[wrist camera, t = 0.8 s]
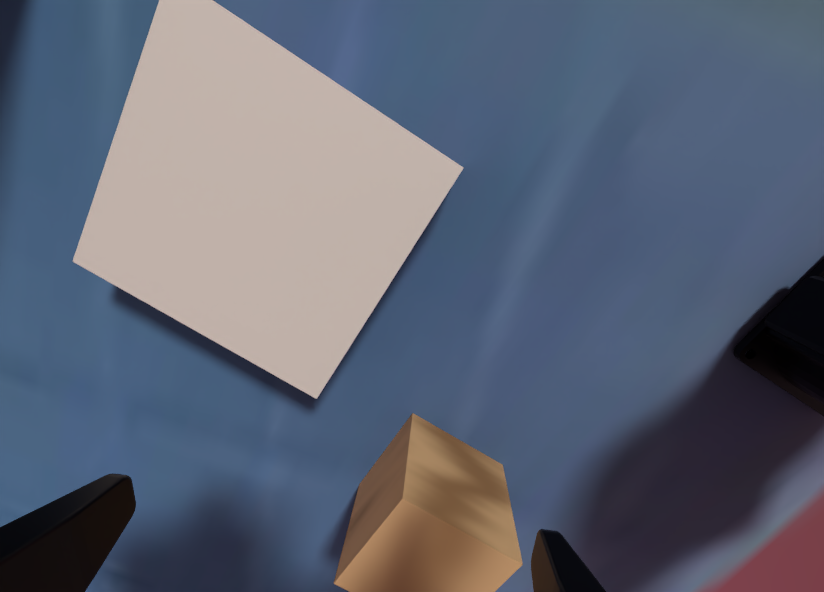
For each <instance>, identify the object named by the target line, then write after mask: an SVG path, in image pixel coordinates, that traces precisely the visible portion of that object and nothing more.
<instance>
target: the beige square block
mask: <svg viewBox="0 0 824 592" xmlns="http://www.w3.org/2000/svg"><path fill="white" fill-rule="evenodd" d="M462 170H463V167H462V166H460V165H459V164H457V163H456V162H454V161H453V160H451V159H450V158H448V157H447V156H445V155H444V154H442V153H441V152H439V151H438V150H436V149H435V148H433V147H432V146H430V145H429V144H427V143H426V142H424V141H423V140H421V139H420V138H418V137H417V136H415V135H414V134H412V133H411V132H409V131H408V130H406V129H405V128H403V127H402V126H400V125H399V124H397V123H396V122H394V121H393V120H391V119H390V118H388V117H387V116H385V115H384V114H382V113H381V112H379V111H378V110H376V109H375V108H373V107H372V106H370V105H369V104H367V103H366V102H364V101H363V100H361V99H360V98H358V97H357V96H355V95H354V94H352V93H351V92H349V91H348V90H346V89H345V88H343V87H342V86H340V85H339V84H337V83H336V82H334V81H333V80H331V79H330V78H328V77H327V76H325V75H324V74H322V73H321V72H319V71H318V70H316V69H315V68H313V67H312V66H310V65H309V64H307V63H306V62H304V61H303V60H301V59H300V58H298V57H297V56H295V55H294V54H292V53H291V52H289V51H288V50H286V49H285V48H283V47H282V46H280V45H279V44H277V43H276V42H274V41H273V40H271V39H270V38H268V37H267V36H265V35H264V34H262V33H261V32H259V31H258V30H256V29H255V28H253V27H252V26H250V25H249V24H247V23H246V22H244V21H243V20H241V19H240V18H238V17H237V16H235V15H234V14H232V13H231V12H229V11H228V10H226V9H225V8H223V7H222V6H220V5H219V4H217V3H216V2H214V1H213V0H159V3H158V6H157V9H156V12H155V15H154V18H153V21H152V24H151V27H150V30H149V33H148V36H147V39H146V42H145V45H144V48H143V51H142V54H141V57H140V60H139V63H138V66H137V69H136V72H135V75H134V78H133V81H132V84H131V87H130V90H129V93H128V96H127V99H126V102H125V105H124V108H123V111H122V115H121V118H120V121H119V124H118V127H117V130H116V133H115V136H114V139H113V142H112V145H111V148H110V151H109V154H108V157H107V160H106V163H105V166H104V169H103V172H102V175H101V178H100V181H99V184H98V187H97V190H96V193H95V196H94V199H93V202H92V205H91V208H90V211H89V214H88V217H87V220H86V223H85V226H84V229H83V232H82V235H81V238H80V241H79V244H78V247H77V250H76V253H75V256H74V259H73V262H74V263H76V264H78V265H80V266H81V267H83V268H85V269H87V270H89V271H90V272H92V273H94V274H96V275H97V276H99V277H101V278H103V279H105V280H106V281H108V282H110V283H112V284H113V285H115V286H117V287H119V288H120V289H122V290H124V291H126V292H128V293H129V294H131V295H133V296H135V297H136V298H138V299H140V300H142V301H144V302H145V303H147V304H149V305H151V306H152V307H154V308H156V309H158V310H159V311H161V312H163V313H165V314H167V315H168V316H170V317H172V318H174V319H175V320H177V321H179V322H181V323H183V324H184V325H186V326H188V327H190V328H191V329H193V330H195V331H197V332H198V333H200V334H202V335H204V336H206V337H207V338H209V339H211V340H213V341H214V342H216V343H218V344H220V345H222V346H223V347H225V348H227V349H229V350H230V351H232V352H234V353H236V354H237V355H239V356H241V357H243V358H245V359H246V360H248V361H250V362H252V363H253V364H255V365H257V366H259V367H261V368H262V369H264V370H266V371H268V372H269V373H271V374H273V375H275V376H276V377H278V378H280V379H282V380H284V381H285V382H287V383H289V384H291V385H292V386H294V387H296V388H298V389H300V390H301V391H303V392H305V393H307V394H308V395H310V396H312V397H314V398H316V399H317V398H318V396H319V395H320V393H321V391H322V390H323V388H324V387H325V385H326V384H327V382H328V380H329V379H330V377H331V376H332V374H333V373H334V371H335V369H336V368H337V366H338V365H339V363H340V362H341V360H342V358H343V357H344V355H345V354H346V352H347V351H348V349H349V347H350V346H351V344H352V343H353V341H354V340H355V338H356V336H357V335H358V333H359V332H360V330H361V329H362V327H363V325H364V324H365V322H366V321H367V319H368V318H369V316H370V314H371V313H372V311H373V310H374V308H375V307H376V305H377V303H378V302H379V300H380V299H381V297H382V296H383V294H384V292H385V291H386V289H387V288H388V286H389V285H390V283H391V281H392V280H393V278H394V277H395V275H396V274H397V272H398V270H399V269H400V267H401V266H402V264H403V263H404V261H405V259H406V258H407V256H408V255H409V253H410V252H411V250H412V248H413V247H414V245H415V244H416V242H417V240H418V239H419V237H420V236H421V234H422V233H423V231H424V229H425V228H426V226H427V225H428V223H429V222H430V220H431V218H432V217H433V215H434V214H435V212H436V211H437V209H438V207H439V206H440V204H441V203H442V201H443V200H444V198H445V196H446V195H447V193H448V192H449V190H450V189H451V187H452V185H453V184H454V182H455V181H456V179H457V178H458V176H459V174H460V173H461V171H462Z"/></svg>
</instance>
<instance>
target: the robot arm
mask: <svg viewBox="0 0 824 592" xmlns="http://www.w3.org/2000/svg"><path fill="white" fill-rule="evenodd" d="M748 350H751V351H750V352H749V353H748V354H747V355H745V353H746V352H747V351H748ZM734 356H735V357H736V358H737V359H739V360H740V361H742V362H743V363H745V364H746V365H748V366H749V367H751V368H752V369H754V370H755V371H757V372H758V373H760V374H761V375H763V376H764V377H766V378H767V379H769V380H770V381H772V382H773V383H775V384H776V385H778V386H779V387H781V388H782V389H784V390H785V391H787V392H788V393H790V394H791V395H793V396H794V397H796V398H797V399H799V400H800V401H802V402H803V403H805V404H806V405H808V406H809V407H811V408H812V409H814V410H816V411H817V412H819V413H820V414H822V415H823V416H824V260H823V261H822V262H821V263H820V264H819V265H818V266H817V267H816V268H815V269H814V270H813V271H812V272H811V273H810V274H809V275H808V276H807V277H806V278H805V279H804V280H803V281H802V282H801V283H800V284H799V285H798V286H797V287H796V288H795V289H794V290H793V291H792V292H791V293H790V294H789V295H788V296H787V297H786V298H785V299H784V300H783V301H781V302H780V303H779V304H778V305H777V306H776V307H775V308H774V309H773V310H772V311H771V312H770V313H769V314H768V315H767V316H766V317H765V318H764V319H763V320H762V321H761V322H760V323H759V324H758V325H757V326H756V327H755V328H754V329H753V330H752V331H751V332H750V333H749V334H748V335H747V336H746V337H745V338H744V339H743V340H742V341H741V342H740V343H739V344H738V345H737V346H736V347H735V349H734ZM135 507H136V501H135V495H134V490H133V484H132V480H131V478H130V477H129V476H127V475H121V474H108V475H106V476H103V477H101V478H99V479H97V480H95V481H93V482H91V483H89V484H87V485H85V486H83V487H81V488H79V489H77V490H75V491H73V492H71V493H69V494H67V495H65V496H63V497H61V498H59V499H57V500H55V501H53V502H51V503H49V504H47V505H45V506H43V507H40V508H38V509H36V510H34V511H32V512H30V513H28V514H26V515H24V516H22V517H20V518H18V519H16V520H14V521H12V522H10V523H8V524H6V525H4V526H2V527H0V592H85V591H86V589H87V588H88V586H89V584H90V583H91V581H92V580H93V578H94V577H95V575H96V574H97V572H98V570H99V569H100V567H101V566H102V564H103V562H104V561H105V559H106V558H107V556H108V554H109V553H110V551H111V550H112V548H113V546H114V545H115V543H116V542H117V540H118V538H119V537H120V535H121V533H122V532H123V530H124V529H125V527H126V525H127V524H128V522H129V521H130V519H131V517H132V516H133V513H134V511H135ZM531 571H532V580H533V589H534V592H606V591H605V590H604V588H603V587H602V586H601V585H600V583H599V582H598V581H597V579H596V578H595V577H594V576H593V574H592V573H591V572H590V570H589V569H588V568H587V567H586V565H585V564H584V563H583V562H582V560H581V559H580V558H579V556H578V555H577V554H576V553H575V551H574V550H573V549H572V547H571V546H570V545H569V544H568V542H567V541H566V540H565V538H564V537H563V536H562V535H561V534H560V533H559V532H557V531H552V530H545V529H540V530H539V531H538V533H537V536H536V540H535V545H534V549H533V553H532V558H531Z"/></svg>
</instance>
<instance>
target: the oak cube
mask: <svg viewBox="0 0 824 592" xmlns="http://www.w3.org/2000/svg"><path fill="white" fill-rule="evenodd" d="M522 565H523V564H522V559H521V554H520V549H519V544H518V539H517V534H516V529H515V524H514V519H513V514H512V509H511V504H510V499H509V494H508V489H507V484H506V479H505V474H504V469H503V465H502V464H500V463H498V462H497V461H495V460H493V459H491V458H490V457H488V456H486V455H484V454H483V453H481V452H479V451H478V450H476V449H474V448H472V447H471V446H469V445H467V444H465V443H464V442H462V441H460V440H458V439H457V438H455V437H453V436H452V435H450V434H448V433H446V432H445V431H443V430H441V429H439V428H438V427H436V426H434V425H432V424H431V423H429V422H427V421H426V420H424V419H422V418H420V417H419V416H417V415H415V414H413V413H412V415H411V416H410V417H409V419H408V420H407V421H406V423H405V424H404V425H403V427H402V428H401V429H400V431H399V432H398V433H397V435H396V436H395V437H394V439H393V440H392V441H391V443H390V444H389V445H388V447H387V448H386V449H385V451H384V452H383V453H382V455H381V456H380V457H379V459H378V460H377V461H376V463H375V464H374V465H373V467H372V468H371V470H370V471H369V472H368V474H367V475H366V476H365V478H364V479H363V480H362V482H361V483H360V484H359V487H358V491H357V495H356V499H355V503H354V507H353V511H352V515H351V518H350V522H349V526H348V530H347V534H346V538H345V542H344V546H343V549H342V553H341V557H340V561H339V565H338V569H337V573H336V577H335V580H334V584H336V585H338V586H340V587H342V588H343V589H345V590H347V591H349V592H495V591H496V590H497V589H498V588H499V587H500V586H501V585H502V584H503V583H504V582H505V581H506V580H507V579H508V578H509V577H510V576H511V575H512V574H513V573H514V572H515V571H516V570H518V569H519V568H520V567H521V566H522Z"/></svg>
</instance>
